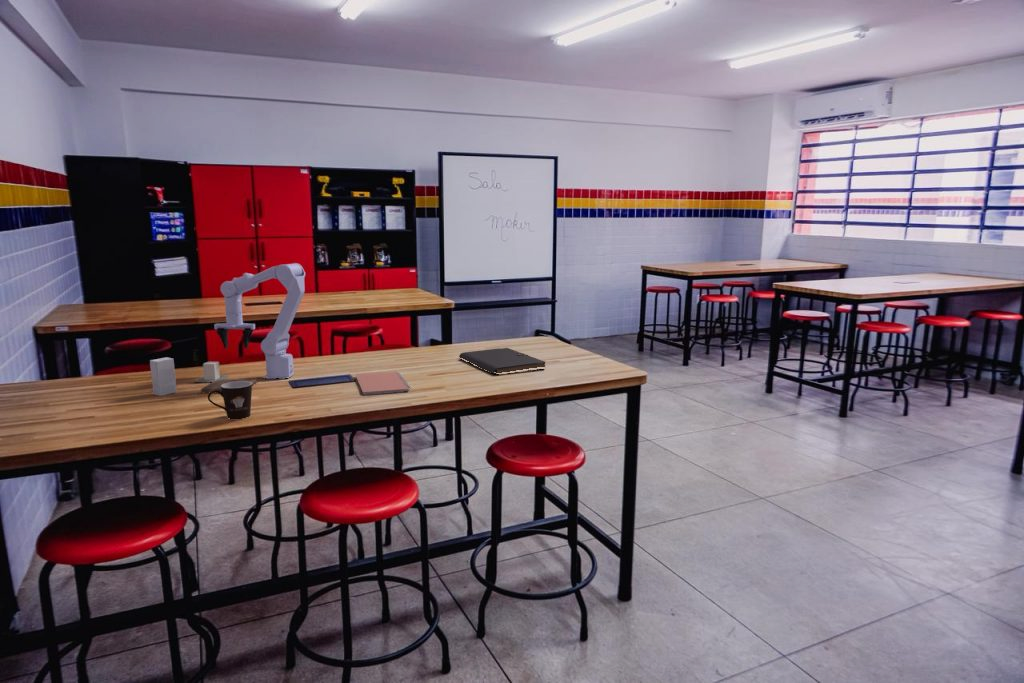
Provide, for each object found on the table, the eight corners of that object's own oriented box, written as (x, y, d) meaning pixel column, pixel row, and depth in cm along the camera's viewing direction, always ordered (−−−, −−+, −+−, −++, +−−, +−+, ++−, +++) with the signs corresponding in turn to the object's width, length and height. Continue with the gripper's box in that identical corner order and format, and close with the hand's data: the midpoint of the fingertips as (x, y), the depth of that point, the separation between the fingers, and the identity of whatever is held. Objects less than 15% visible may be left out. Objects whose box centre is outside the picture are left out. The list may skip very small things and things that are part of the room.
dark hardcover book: (546, 361, 255) (494, 367, 243) (546, 370, 256) (494, 378, 244) (507, 346, 283) (459, 352, 272) (507, 355, 284) (459, 361, 272)
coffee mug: (258, 412, 193) (256, 381, 191) (247, 420, 185) (245, 388, 183) (220, 412, 193) (218, 380, 191) (208, 420, 184) (205, 388, 183)
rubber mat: (229, 376, 236) (229, 375, 236) (219, 382, 228) (219, 381, 228) (205, 376, 236) (205, 375, 236) (194, 382, 227) (194, 381, 227)
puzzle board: (256, 383, 227) (256, 379, 227) (243, 393, 215) (242, 388, 214) (217, 383, 227) (217, 379, 226) (201, 393, 214) (201, 388, 214)
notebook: (412, 393, 219) (412, 387, 219) (363, 397, 214) (363, 391, 213) (399, 375, 244) (399, 370, 244) (355, 378, 239) (355, 373, 239)
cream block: (220, 377, 234) (218, 361, 233) (215, 379, 230) (214, 364, 229) (209, 377, 233) (207, 361, 232) (204, 379, 230) (203, 363, 228)
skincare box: (170, 390, 216) (166, 356, 214) (177, 392, 214) (174, 358, 212) (152, 394, 211) (149, 360, 209) (159, 396, 209) (156, 361, 207)
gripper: (209, 313, 232) (212, 349, 235) (249, 314, 233) (251, 349, 235) (217, 311, 239) (220, 346, 242) (256, 311, 240) (258, 346, 242)
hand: (236, 347), depth 239 cm, fingers open, 7 cm apart
